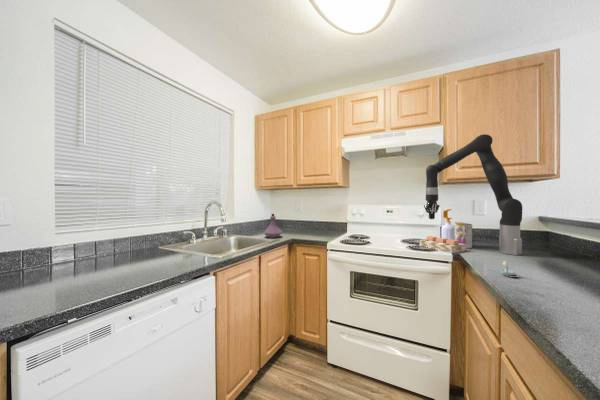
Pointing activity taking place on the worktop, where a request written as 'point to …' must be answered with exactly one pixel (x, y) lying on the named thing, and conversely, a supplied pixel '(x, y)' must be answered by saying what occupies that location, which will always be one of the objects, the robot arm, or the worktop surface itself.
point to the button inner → (452, 242)
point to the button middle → (441, 240)
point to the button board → (443, 246)
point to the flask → (272, 229)
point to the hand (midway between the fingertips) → (431, 218)
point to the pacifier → (507, 270)
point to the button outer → (431, 238)
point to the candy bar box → (463, 233)
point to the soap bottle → (447, 227)
